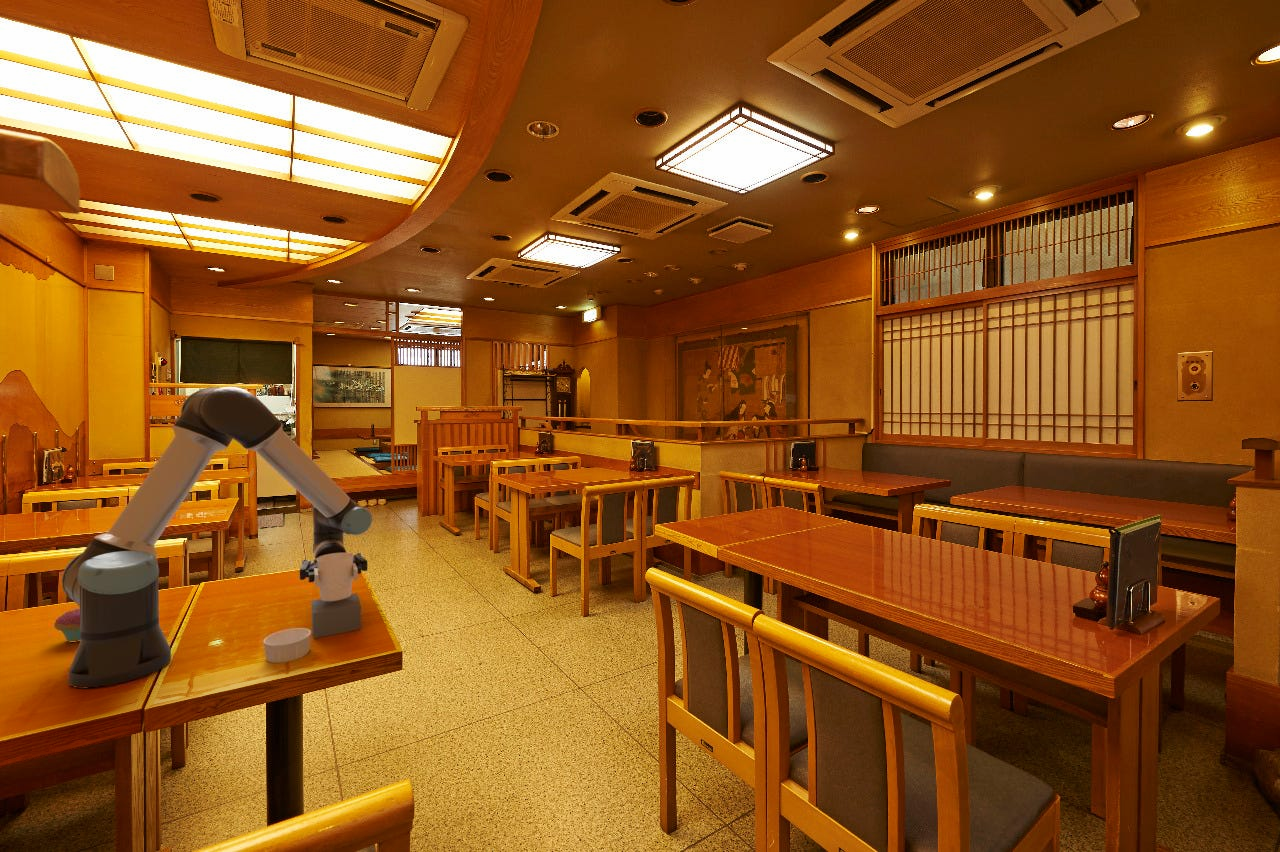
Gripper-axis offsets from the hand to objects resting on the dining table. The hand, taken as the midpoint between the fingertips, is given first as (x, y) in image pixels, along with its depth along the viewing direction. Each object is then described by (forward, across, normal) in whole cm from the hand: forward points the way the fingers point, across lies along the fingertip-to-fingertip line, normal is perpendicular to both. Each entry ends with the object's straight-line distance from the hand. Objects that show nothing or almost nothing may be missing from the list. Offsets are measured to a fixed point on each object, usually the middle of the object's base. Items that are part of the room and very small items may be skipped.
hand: (336, 577), depth 129 cm
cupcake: (-29, +50, -14) cm, 60 cm away
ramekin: (+7, +10, -14) cm, 18 cm away
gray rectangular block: (-5, 0, -14) cm, 14 cm away
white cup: (-5, 0, -6) cm, 8 cm away
